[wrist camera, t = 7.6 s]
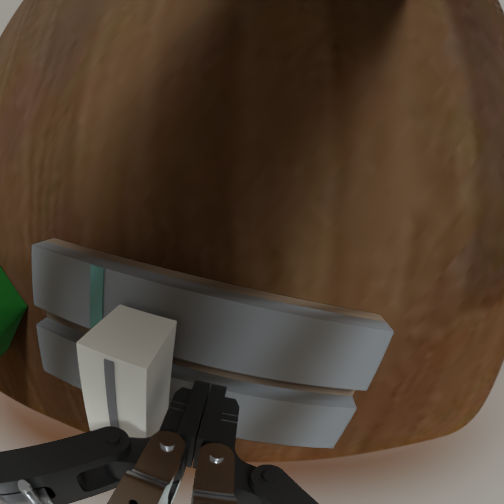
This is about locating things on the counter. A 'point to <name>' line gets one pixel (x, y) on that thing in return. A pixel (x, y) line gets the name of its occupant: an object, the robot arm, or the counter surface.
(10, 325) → the milk carton
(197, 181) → the counter surface
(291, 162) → the counter surface
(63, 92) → the counter surface
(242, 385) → the slider panel
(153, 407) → the slider knob
